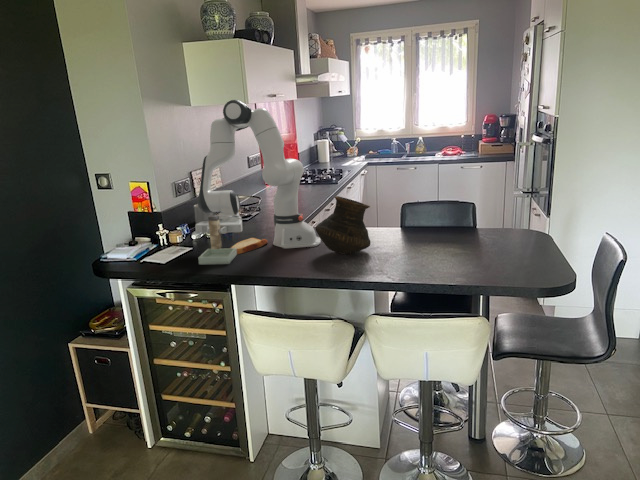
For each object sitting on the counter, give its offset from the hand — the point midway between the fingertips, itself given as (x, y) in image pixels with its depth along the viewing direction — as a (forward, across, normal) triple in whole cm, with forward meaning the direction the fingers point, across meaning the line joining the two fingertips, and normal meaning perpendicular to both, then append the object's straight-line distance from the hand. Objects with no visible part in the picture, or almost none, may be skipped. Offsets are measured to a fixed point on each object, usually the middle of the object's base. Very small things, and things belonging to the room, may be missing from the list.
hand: (214, 231), depth 204 cm
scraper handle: (-1, 0, +8) cm, 8 cm away
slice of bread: (-18, +10, +13) cm, 25 cm away
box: (-1, 0, +13) cm, 13 cm away
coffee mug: (-74, -28, +14) cm, 80 cm away
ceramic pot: (-5, +54, +12) cm, 56 cm away
